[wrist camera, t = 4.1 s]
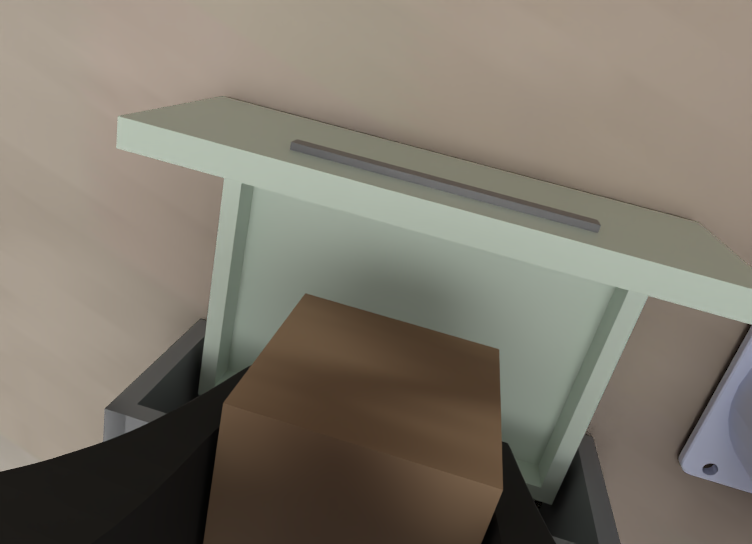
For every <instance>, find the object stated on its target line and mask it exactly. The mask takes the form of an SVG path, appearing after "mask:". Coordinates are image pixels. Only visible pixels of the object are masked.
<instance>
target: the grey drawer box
mask: <svg viewBox="0 0 752 544" xmlns="http://www.w3.org/2000/svg"><path fill="white" fill-rule="evenodd" d="M206 323H207V321H206V320H202V319H200V320H199V321H198V322H196V323H195V324H194V325H193V326H192V327H191V328H190V329H189V330H188V331H187V332H186V333H185V334H184V335H183V336H182V337H180V338H179V339H178V340H177V341H176V342H175V343H174V344H173V345H172V346H171V347H170V348H169V349H168V350H167V351H166V352H165V353H163V354H162V355H161V356H160V357H159V358H158V359H157V360H156V361H155V362H154V363H153V364H152V365H151V366H150V367H149V368H147V369H146V370H145V371H144V372H143V373H142V374H141V375H140V376H139V377H138V378H137V379H136V380H135V381H134V382H133V383H132V384H130V385H129V386H128V387H127V388H126V389H125V390H124V391H123V392H122V393H121V394H120V395H119V396H118V397H117V398H116V399H114V400H113V401H112V402H111V403H110V404H109V405H108V406H107V407H106V408H105V414H104V437H103V442H105V441H107V440H110V439H112V438H115V437H117V436H120V435H122V434H125V433H127V432H130V431H132V430H134V429H136V428H139V427H141V426H143V425H145V424H147V423H149V422H151V421H153V420H155V419H157V418H159V417H161V416H163V415H165V414H167V413H169V412H171V411H173V410H175V409H177V408H179V407H181V406H182V405H184V404H186V403H188V402H189V401H191V400H193V399H195V398H197V397H198V396H200V395H198V389H199V380H200V372H201V364H202V356H203V348H204V340H205V331H206ZM539 512H540V514H541V516H542V518H543V520H544V522H545V524H546V526H547V528H548V530H549V532H550V533H551V535H552V537H553V539H554V541H555V543H556V544H620V540H619V536H618V532H617V528H616V524H615V520H614V517H613V513H612V509H611V505H610V501H609V497H608V493H607V490H606V486H605V482H604V478H603V474H602V470H601V466H600V462H599V459H598V455H597V451H596V447H595V443H594V439H593V437H591V436H588V435H585V434H584V436H583V438H582V440H581V442H580V445H579V447H578V449H577V451H576V453H575V455H574V458H573V460H572V462H571V464H570V466H569V468H568V471H567V473H566V475H565V477H564V479H563V481H562V484H561V486H560V488H559V490H558V492H557V494H556V496H555V499H554V501H553V503H552V505H550V504H547V503H544V502H543V503H542V505H541V507H540V509H539Z"/></svg>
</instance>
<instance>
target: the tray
mask: <svg viewBox="0 0 752 544" xmlns="http://www.w3.org/2000/svg"><path fill="white" fill-rule="evenodd" d="M116 148H118V149H121V150H125V151H128V152H132V153H136V154H139V155H143V156H146V157H150V158H154V159H157V160H161V161H164V162H168V163H172V164H175V165H179V166H182V167H186V168H190V169H193V170H197V171H200V172H204V173H208V174H211V175H215V176H218V177H222V178H224V184H223V193H222V201H221V209H220V217H219V225H218V233H217V242H216V250H215V258H214V266H213V274H212V282H211V291H210V299H209V307H208V315H207V323H206V331H205V340H204V348H203V356H202V364H201V372H200V380H199V389H198V395H202V394H204V393H205V392H207V391H209V390H210V389H212V388H214V387H215V386H217V385H219V384H220V383H222V382H224V381H225V380H227V379H228V378H230V377H232V376H233V375H235V374H236V373H238V372H240V371H241V370H243V369H245V368H246V367H248V366H250V365H252V364H253V362H254V361H255V360H256V358H257V357H258V356H259V354H260V353H261V352H262V350H263V349H264V348H265V346H266V345H267V344H268V342H269V341H270V340H271V338H272V337H273V336H274V334H275V333H276V332H277V330H278V329H279V328H280V326H281V325H282V324H283V322H284V321H285V320H286V318H287V317H288V316H289V314H290V313H291V312H292V310H293V309H294V308H295V306H296V305H297V304H298V302H299V301H300V300H301V298H302V297H303V296H304V294H305V293H306V294H310V295H313V296H317V297H320V298H324V299H327V300H331V301H334V302H338V303H341V304H344V305H348V306H351V307H355V308H358V309H362V310H365V311H369V312H372V313H376V314H379V315H383V316H386V317H389V318H393V319H396V320H400V321H403V322H407V323H410V324H414V325H417V326H421V327H424V328H428V329H431V330H434V331H438V332H441V333H445V334H448V335H452V336H455V337H459V338H462V339H466V340H469V341H473V342H476V343H479V344H483V345H486V346H490V347H493V348H497V349H499V358H500V395H501V432H502V441H503V442H506V443H508V444H509V446H510V448H511V450H512V453H513V455H514V457H515V460H516V462H517V464H518V467H519V469H520V471H521V474H522V476H523V478H524V480H525V483H526V485H527V487H528V489H529V491H530V494H531V496H532V498H533V499H534V500H537V501H540V502H544V503H547V504H550V505H552V503H553V501H554V499H555V496H556V494H557V492H558V490H559V488H560V486H561V484H562V481H563V479H564V477H565V475H566V473H567V471H568V468H569V466H570V464H571V462H572V460H573V458H574V455H575V453H576V451H577V449H578V447H579V445H580V442H581V440H582V438H583V436H584V434H585V432H586V430H587V427H588V425H589V423H590V421H591V419H592V417H593V414H594V412H595V410H596V408H597V406H598V404H599V401H600V399H601V397H602V395H603V393H604V391H605V388H606V386H607V384H608V382H609V380H610V378H611V376H612V373H613V371H614V369H615V367H616V365H617V363H618V360H619V358H620V356H621V354H622V352H623V350H624V347H625V345H626V343H627V341H628V339H629V337H630V335H631V332H632V330H633V328H634V326H635V324H636V322H637V319H638V317H639V315H640V313H641V311H642V309H643V306H644V304H645V302H646V300H647V298H648V296H650V297H654V298H657V299H661V300H665V301H668V302H672V303H675V304H679V305H683V306H686V307H690V308H693V309H697V310H701V311H704V312H708V313H711V314H715V315H719V316H722V317H726V318H729V319H733V320H737V321H740V322H744V323H747V324H751V325H752V268H751V267H750V266H749V265H748V264H747V263H745V262H744V261H743V260H742V259H741V258H740V257H738V256H737V255H736V254H735V253H734V252H733V251H731V250H730V249H729V248H728V247H727V246H726V245H724V244H723V243H722V242H721V241H720V240H719V239H717V238H716V237H715V236H714V235H713V234H712V233H710V232H709V231H708V230H707V229H706V228H705V227H703V226H702V225H701V224H700V223H699V222H696V221H692V220H688V219H684V218H680V217H677V216H673V215H669V214H665V213H662V212H658V211H654V210H650V209H646V208H643V207H639V206H635V205H631V204H628V203H624V202H620V201H616V200H613V199H609V198H605V197H601V196H597V195H594V194H590V193H586V192H582V191H579V190H575V189H571V188H567V187H564V186H560V185H556V184H552V183H548V182H545V181H541V180H537V179H533V178H530V177H526V176H522V175H518V174H515V173H511V172H507V171H503V170H499V169H496V168H492V167H488V166H484V165H481V164H477V163H473V162H469V161H465V160H462V159H458V158H454V157H450V156H447V155H443V154H439V153H435V152H432V151H428V150H424V149H420V148H416V147H413V146H409V145H405V144H401V143H398V142H394V141H390V140H386V139H383V138H379V137H375V136H371V135H367V134H364V133H360V132H356V131H352V130H349V129H345V128H341V127H337V126H334V125H330V124H326V123H322V122H318V121H315V120H311V119H307V118H303V117H300V116H296V115H292V114H288V113H284V112H281V111H277V110H273V109H269V108H266V107H262V106H258V105H254V104H251V103H247V102H243V101H239V100H235V99H232V98H228V97H224V96H221V97H216V98H210V99H205V100H200V101H195V102H189V103H184V104H179V105H173V106H168V107H163V108H158V109H152V110H147V111H142V112H136V113H131V114H126V115H121V116H118V123H117V146H116Z"/></svg>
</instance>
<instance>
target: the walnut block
mask: <svg viewBox="0 0 752 544" xmlns="http://www.w3.org/2000/svg"><path fill="white" fill-rule="evenodd" d="M502 491H503V469H502V432H501V395H500V358H499V349H497V348H493V347H490V346H486V345H483V344H479V343H476V342H473V341H469V340H466V339H462V338H459V337H455V336H452V335H448V334H445V333H441V332H438V331H434V330H431V329H428V328H424V327H421V326H417V325H414V324H410V323H407V322H403V321H400V320H396V319H393V318H389V317H386V316H383V315H379V314H376V313H372V312H369V311H365V310H362V309H358V308H355V307H351V306H348V305H344V304H341V303H338V302H334V301H331V300H327V299H324V298H320V297H317V296H313V295H310V294H306V293H305V294H304V296H303V297H302V298H301V300H300V301H299V302H298V304H297V305H296V306H295V308H294V309H293V310H292V312H291V313H290V314H289V316H288V317H287V318H286V320H285V321H284V322H283V324H282V325H281V326H280V328H279V329H278V330H277V332H276V333H275V334H274V336H273V337H272V338H271V340H270V341H269V342H268V344H267V345H266V346H265V348H264V349H263V350H262V352H261V353H260V354H259V356H258V357H257V358H256V360H255V361H254V362H253V364H252V365H251V367H250V368H249V369H248V371H247V372H246V373H245V375H244V376H243V377H242V379H241V380H240V381H239V383H238V384H237V385H236V387H235V388H234V389H233V391H232V392H231V393H230V395H229V396H228V397H227V399H226V400H225V401H224V403H223V407H222V414H221V421H220V428H219V435H218V442H217V449H216V457H215V464H214V471H213V478H212V485H211V492H210V499H209V506H208V513H207V520H206V527H205V534H204V541H203V544H481V543H482V540H483V538H484V535H485V533H486V530H487V528H488V526H489V523H490V521H491V518H492V516H493V513H494V511H495V508H496V506H497V503H498V501H499V499H500V496H501V494H502Z"/></svg>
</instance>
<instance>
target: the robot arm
mask: <svg viewBox="0 0 752 544" xmlns="http://www.w3.org/2000/svg"><path fill="white" fill-rule="evenodd" d="M250 367H251V365H250V366H248V367H246V368H245V369H243V370H241V371H240V372H238V373H236V374H235V375H233V376H232V377H230V378H228V379H227V380H225V381H224V382H222V383H220V384H219V385H217V386H215V387H214V388H212V389H210V390H209V391H207V392H205V393H204V394H202V395H200V396H198V397H197V398H195V399H193V400H191V401H189V402H188V403H186V404H184V405H182V406H181V407H179V408H177V409H175V410H173V411H171V412H169V413H167V414H165V415H163V416H161V417H159V418H157V419H155V420H153V421H151V422H149V423H147V424H145V425H143V426H141V427H139V428H136V429H134V430H132V431H130V432H127V433H125V434H122V435H120V436H117V437H115V438H112V439H110V440H107V441H105V442H102V443H99V444H96V445H93V446H90V447H87V448H84V449H81V450H78V451H75V452H72V453H68V454H65V455H62V456H59V457H56V458H53V459H49V460H46V461H42V462H38V463H35V464H31V465H27V466H23V467H19V468H15V469H10V470H6V471H2V472H0V544H203V541H204V534H205V527H206V520H207V513H208V506H209V499H210V492H211V485H212V478H213V471H214V464H215V457H216V449H217V442H218V435H219V428H220V421H221V414H222V407H223V403H224V401H225V400H226V399H227V397H228V396H229V395H230V393H231V392H232V391H233V389H234V388H235V387H236V385H237V384H238V383H239V381H240V380H241V379H242V377H243V376H244V375H245V373H246V372H247V371H248V369H249V368H250ZM679 463H680V466H681V468H682V469H683V471H684V472H685V473H687V474H689V475H692V476H696V477H699V478H702V479H706V480H709V481H712V482H716V483H719V484H722V485H726V486H729V487H732V488H735V489H739V490H742V491H745V492H749V493H752V326H751V327H750V329H749V331H748V333H747V335H746V336H745V338H744V340H743V342H742V344H741V345H740V347H739V349H738V351H737V353H736V354H735V356H734V358H733V360H732V362H731V363H730V365H729V367H728V369H727V371H726V372H725V374H724V376H723V378H722V380H721V381H720V383H719V385H718V387H717V389H716V390H715V392H714V394H713V396H712V398H711V399H710V401H709V403H708V405H707V407H706V408H705V410H704V412H703V414H702V416H701V417H700V419H699V421H698V423H697V425H696V426H695V428H694V430H693V432H692V433H691V435H690V437H689V439H688V441H687V442H686V444H685V446H684V448H683V450H682V451H681V453H680V455H679ZM709 463H711V464H714V465H713V466H712V467H709V468H703V466H704V465H706V464H709ZM502 469H503V491H502V494H501V496H500V499H499V501H498V503H497V506H496V508H495V511H494V513H493V516H492V518H491V521H490V523H489V526H488V528H487V530H486V533H485V535H484V538H483V540H482V543H481V544H556V543H555V541H554V539H553V537H552V535H551V533H550V532H549V530H548V528H547V526H546V524H545V522H544V520H543V518H542V516H541V514H540V512H539V510H538V508H537V506H536V504H535V502H534V500H533V498H532V496H531V494H530V491H529V489H528V487H527V485H526V483H525V480H524V478H523V476H522V474H521V471H520V469H519V467H518V464H517V462H516V460H515V457H514V455H513V453H512V450H511V448H510V446H509V444H508V443H506V442H503V441H502Z"/></svg>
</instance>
